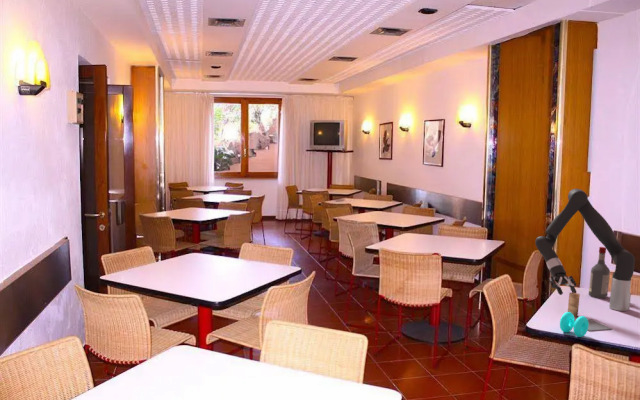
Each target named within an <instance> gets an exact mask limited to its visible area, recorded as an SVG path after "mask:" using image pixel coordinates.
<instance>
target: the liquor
mask: <svg viewBox="0 0 640 400" xmlns="http://www.w3.org/2000/svg"><path fill="white" fill-rule="evenodd" d="M598 248H599V250H598V252H599V253H598V258H597V259H598V260H597V263H596V264H594V265H593V266H592V267H591V269H590V277H589V286H588V296H590V297H591V298H595V299H596V298H597V299H605V298H607V297H608V292H609V285H610V275H611V270H610V268H609V267H608V266H607V265H606V261H605V260H606V252H607V249H606V247H605V246H599V247H598Z"/></svg>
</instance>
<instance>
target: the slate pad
mask: <svg viewBox="0 0 640 400" xmlns="http://www.w3.org/2000/svg"><path fill="white" fill-rule="evenodd" d="M587 319H588V318H587ZM575 321H576V319H575ZM588 323H589V326H588V330H587V332H595V331H599V332H600V331H612V330H613V328H612V327H609V326H608V325H606V324H603V323H601V322H600V321H599V322H598V321H596V320H594V319H592V318H591V319H588Z"/></svg>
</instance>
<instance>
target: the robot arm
mask: <svg viewBox="0 0 640 400" xmlns="http://www.w3.org/2000/svg"><path fill="white" fill-rule="evenodd" d="M567 200H568V201H567V204H566V205H565V207H564V208H563V209H562V210H561V212H559V214H558V215H557V216H556V217H555V218H554V219H553V220H552V221H551V223H550V224H549V225H548V226H547V228H546V235H545V236H544V235H541V236H538V237H536V239H535V241H534V242H535V246H536V248H537V250H538V252H539V253H540V254H541V256H542V257H543V259H544V260H545V263H546V267H547V269H548V271H549V273H550V275H551V276H550V277H549V278H548V281H549V283H550V285H551V288H552V289H556V291H557V293H558V294H559V296H562V295H563V293H564V292H563V289H562V287H561V286H566V287H568V288H569V289H570V291H571V293H577V289H576V286H577V282H576V281H575V279H574V277H573V275H570V276H568V275H567V271H566V269H565V267H564V265H563V264H562V261H561V260H560V258H559V257H558V254H557V252H556V251H555V250H554V249H552V248H553V247H554V245H555V244H556V241H557V239H558V236H559V235H560V233H561V232H562V231H563V229H564V228H565V227H566V225H567V224H568V223H569V222H570V221H571V219H572V217H574V216H575V214H576V213H577V212H579V213H580V214H581V217H582V218H583V220H584V222H585V223H586V225H587V226H588V228H589V229H590V231H591V232H592V234H593V235H594V236H595V237H596V239H598V241H599V242H600V243H601V244H602V245H603V247H605V248H606V251H607V252H608V254H609V255H610V257H611V259H612V260H613V262H614V263H615V269H614V272H612V278H611V287H610V288H611V289H610V296H609V297H610V298H609V305H608V306H609V309H612V310H615V311H619V312H628V311H629V310H630V307H631V296H632V293H631V287H632V286H631V284H632V277H633V276H634V271H635V262H636V258H635V256H634V254H633V253H631V252H629V251H628V250H627V249H626V248H624V246H623V245H622V244H621V243H620V242H619V241H618V239H617V237H616V234H615V232H614V230H613V229H612V227H611V225H610V224H609V222H607V220H606V219H605V218H604V216H602V214H601V213H599V211H598V210H597V209H595V208H594V207H593V205H592V204H591V202H590V201H589V199H588V195H587V193H586V192H585V191H584V190H583V189H580V188H573V189H571V190H570V191H569V192H568V195H567Z"/></svg>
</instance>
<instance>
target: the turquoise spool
mask: <svg viewBox="0 0 640 400" xmlns="http://www.w3.org/2000/svg"><path fill="white" fill-rule="evenodd" d="M575 320H576V321H575ZM588 326H589V323H588V318H587V317H586V316H584V315H581V316H578V317H574V315H573V314H572V313H571V312H568V311H565V312H564V313H563V314H562V315H561V318H560V321H559V328H560V330H561V331H562V332H563V333H570V331H572V330H573V333H574V335H575V336H576V337H577V338H583V337H584V336H585V335H586V334H587V333H588V331H587V330H588Z"/></svg>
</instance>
